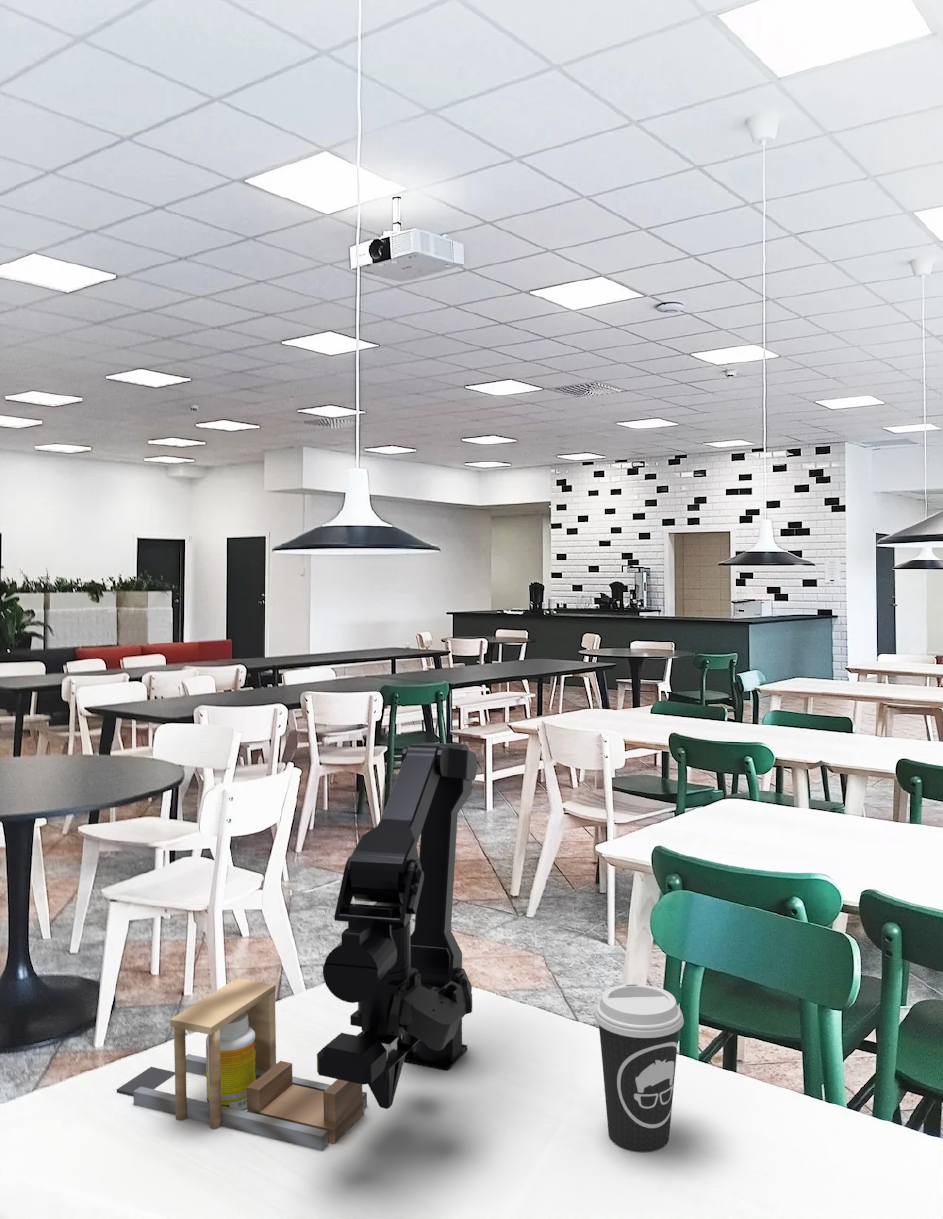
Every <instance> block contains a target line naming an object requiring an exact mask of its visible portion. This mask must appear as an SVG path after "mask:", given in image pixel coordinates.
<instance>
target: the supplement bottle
mask: <svg viewBox="0 0 943 1219" xmlns="http://www.w3.org/2000/svg"><path fill="white" fill-rule="evenodd" d="M248 1024H249V1023H248V1014H247V1012H244V1013H243V1014H241V1015H240V1016H238V1017H237V1018H235V1019H234V1020H232V1021H231V1022H229V1023H228V1024H226V1025H225V1026H223V1027H222V1028H221V1029H220V1067H221V1106H225V1107H229V1108H233V1109H238V1110H242V1111H245V1110H247V1087H248V1086H249V1085H251V1084H252V1083H253V1082H254V1081H256V1046H255V1032H254V1030H253V1029H252V1028H251V1027H249V1026H248ZM205 1058H206V1074H207V1076H206V1102H208V1103H210V1082H209V1034H207V1036H206V1038H205Z"/></svg>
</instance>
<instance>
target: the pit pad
mask: <svg viewBox="0 0 943 1219" xmlns="http://www.w3.org/2000/svg"><path fill="white" fill-rule="evenodd" d="M172 1077H175V1071H172V1070H168V1069H162V1068H159V1067H154V1066H150V1067H148V1068H147V1069H145V1070H144V1071H143V1072H141V1073H139V1074H138V1075H136V1076H134V1077H133V1078H132V1079H130V1080H129V1081H128V1082H126V1083H124V1084H122V1085H121V1086H119V1087H118V1088H117V1089H116V1092H117V1093H120V1094H124V1095H127V1096H131V1097H134V1094H133V1091H135V1090H136V1089H138V1088H139V1087H145V1088H149V1089H153V1090H156V1088H158V1087H159V1086H161V1085H162V1084H164V1083H165V1082H167V1081H168V1080H170V1079H171V1078H172Z"/></svg>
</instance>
